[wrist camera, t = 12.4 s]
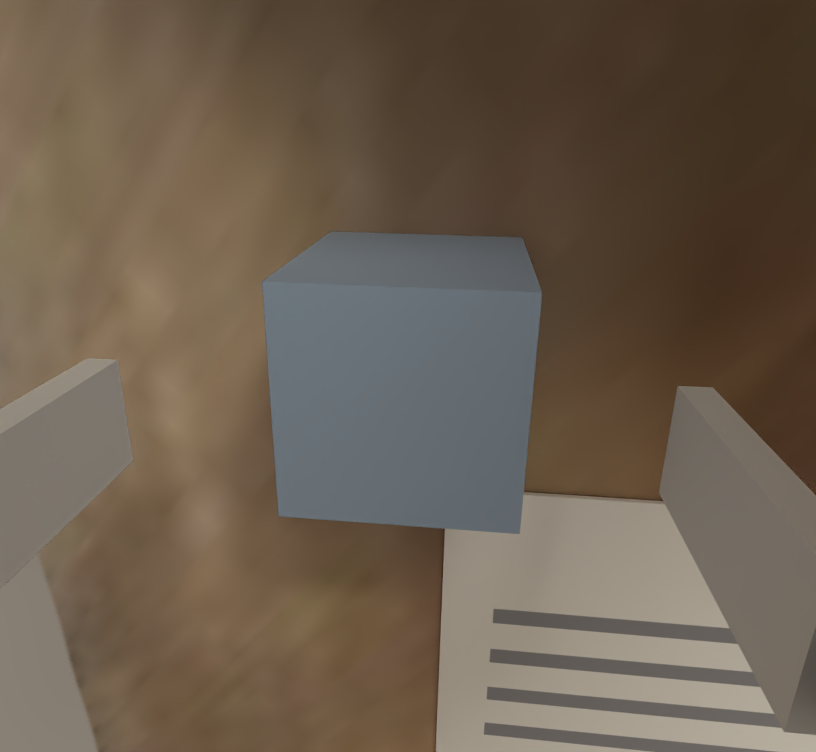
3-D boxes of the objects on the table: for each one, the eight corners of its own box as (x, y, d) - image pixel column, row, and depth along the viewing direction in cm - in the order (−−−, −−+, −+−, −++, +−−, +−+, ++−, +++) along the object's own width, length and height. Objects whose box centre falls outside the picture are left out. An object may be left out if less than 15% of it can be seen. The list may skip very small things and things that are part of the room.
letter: (446, 486, 23) (446, 489, 23) (982, 522, 22) (986, 526, 21) (435, 761, 28) (435, 765, 28) (867, 807, 27) (869, 812, 27)
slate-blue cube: (331, 231, 20) (261, 281, 14) (522, 237, 20) (542, 292, 13) (336, 403, 23) (278, 516, 16) (508, 413, 22) (519, 534, 16)
